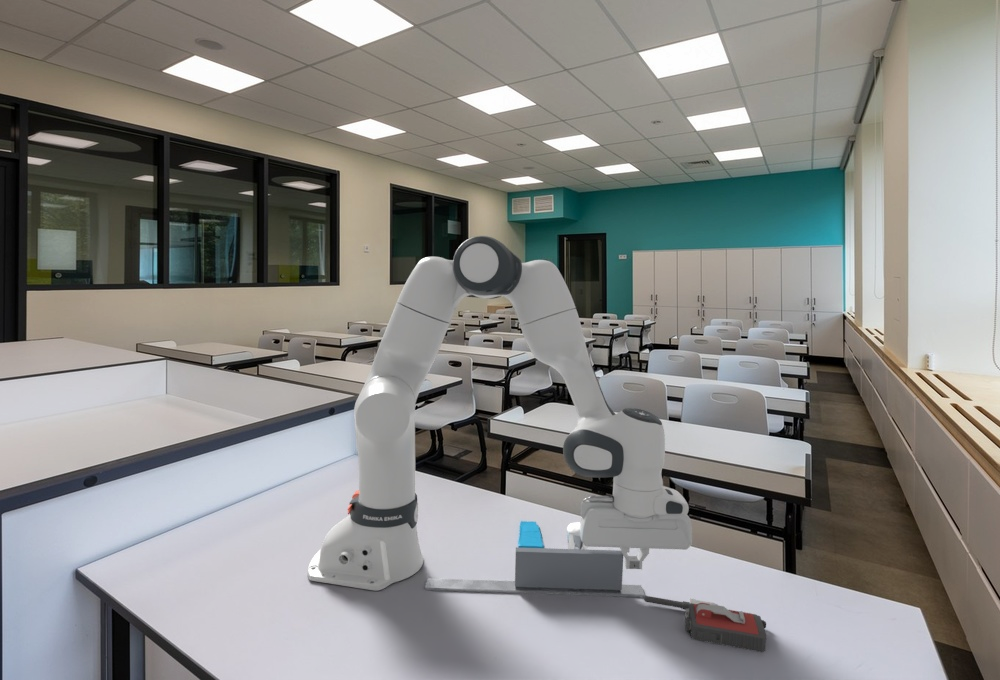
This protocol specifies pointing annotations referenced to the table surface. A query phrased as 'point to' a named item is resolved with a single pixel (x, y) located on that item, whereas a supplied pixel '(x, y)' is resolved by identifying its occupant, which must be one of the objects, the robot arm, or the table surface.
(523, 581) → the screen
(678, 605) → the walkie-talkie
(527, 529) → the sponge
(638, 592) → the rail
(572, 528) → the milkshake
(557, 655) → the table surface
